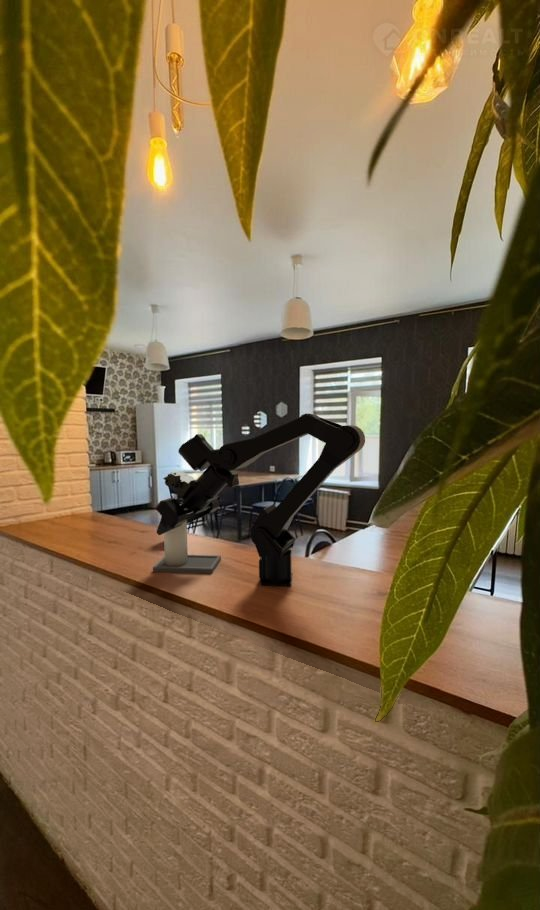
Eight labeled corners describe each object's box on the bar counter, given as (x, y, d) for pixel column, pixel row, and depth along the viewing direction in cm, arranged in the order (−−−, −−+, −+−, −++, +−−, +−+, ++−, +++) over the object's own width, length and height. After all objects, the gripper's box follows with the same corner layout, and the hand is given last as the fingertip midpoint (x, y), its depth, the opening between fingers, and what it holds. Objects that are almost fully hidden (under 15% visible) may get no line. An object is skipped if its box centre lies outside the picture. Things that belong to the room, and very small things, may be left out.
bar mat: (221, 559, 100) (220, 555, 100) (212, 573, 91) (212, 568, 91) (166, 558, 102) (166, 554, 101) (152, 571, 93) (152, 567, 93)
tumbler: (188, 557, 100) (187, 504, 99) (187, 565, 94) (185, 508, 93) (165, 558, 99) (164, 504, 98) (163, 566, 94) (161, 509, 92)
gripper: (208, 456, 102) (173, 497, 107) (161, 463, 85) (122, 511, 90) (236, 489, 99) (199, 528, 104) (194, 503, 82) (152, 550, 87)
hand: (170, 528), depth 97 cm, fingers open, 9 cm apart
